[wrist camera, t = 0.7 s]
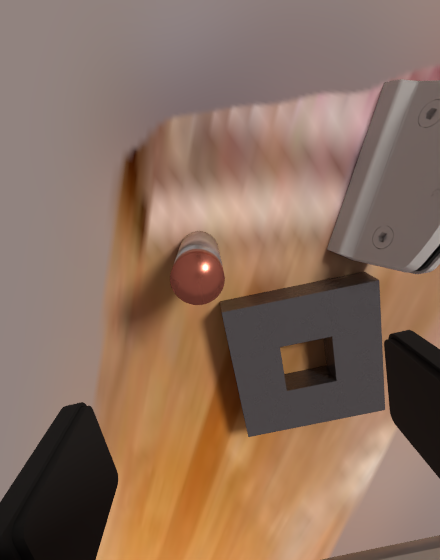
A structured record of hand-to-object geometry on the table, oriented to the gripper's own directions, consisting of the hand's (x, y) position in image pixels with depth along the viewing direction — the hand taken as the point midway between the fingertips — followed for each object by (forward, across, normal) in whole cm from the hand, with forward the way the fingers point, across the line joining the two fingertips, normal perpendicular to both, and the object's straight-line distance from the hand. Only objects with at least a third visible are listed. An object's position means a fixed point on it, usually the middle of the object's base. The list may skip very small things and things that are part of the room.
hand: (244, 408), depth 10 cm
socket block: (+25, -7, +13) cm, 29 cm away
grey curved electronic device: (+24, -18, -4) cm, 31 cm away
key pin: (+24, +2, -1) cm, 24 cm away
